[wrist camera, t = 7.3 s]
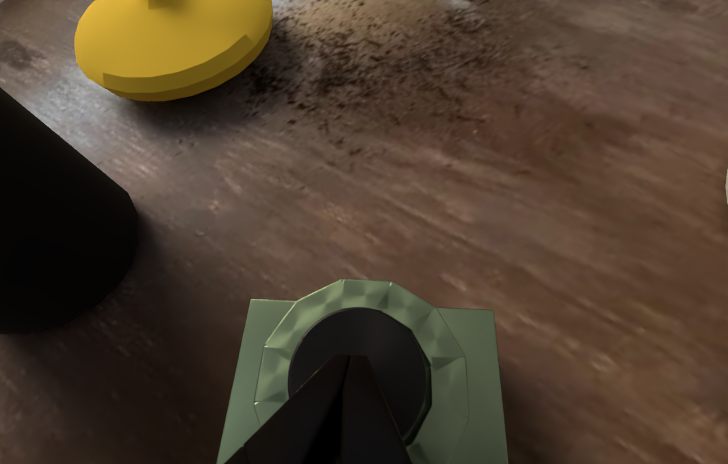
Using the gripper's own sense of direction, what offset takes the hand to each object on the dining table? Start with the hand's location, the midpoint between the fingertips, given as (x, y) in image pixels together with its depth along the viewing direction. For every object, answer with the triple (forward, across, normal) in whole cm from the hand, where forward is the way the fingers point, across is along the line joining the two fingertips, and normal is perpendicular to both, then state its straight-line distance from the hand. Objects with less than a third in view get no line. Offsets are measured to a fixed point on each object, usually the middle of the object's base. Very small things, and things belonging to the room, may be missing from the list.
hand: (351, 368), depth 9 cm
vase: (+26, +17, -11) cm, 33 cm away
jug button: (+2, 0, +2) cm, 3 cm away
